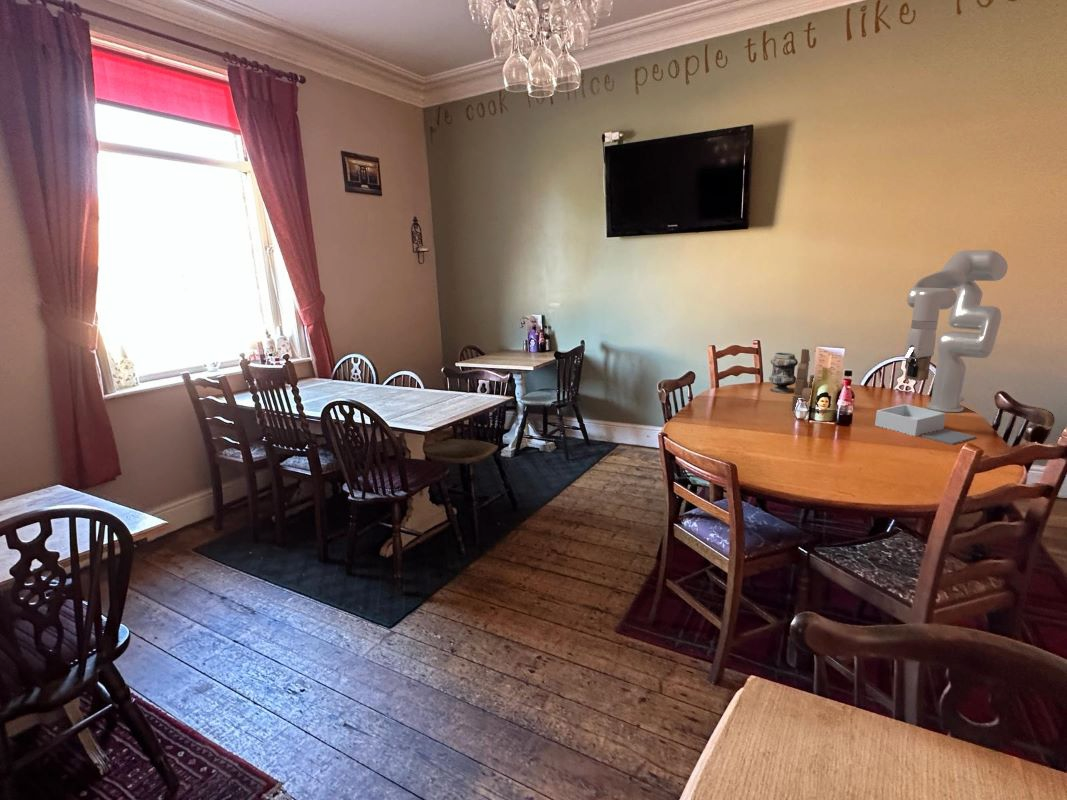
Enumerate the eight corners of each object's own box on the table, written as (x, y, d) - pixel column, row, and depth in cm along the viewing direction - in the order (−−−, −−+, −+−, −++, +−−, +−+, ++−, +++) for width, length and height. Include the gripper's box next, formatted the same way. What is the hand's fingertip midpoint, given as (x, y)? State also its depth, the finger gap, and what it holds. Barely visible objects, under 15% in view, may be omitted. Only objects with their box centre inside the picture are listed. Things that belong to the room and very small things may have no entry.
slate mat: (944, 430, 197) (945, 428, 197) (976, 438, 188) (976, 436, 188) (920, 436, 191) (921, 435, 191) (951, 444, 182) (952, 443, 182)
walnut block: (913, 376, 200) (916, 355, 198) (927, 379, 196) (931, 357, 194) (904, 378, 198) (907, 356, 196) (919, 381, 194) (922, 359, 192)
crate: (902, 418, 211) (905, 404, 210) (943, 428, 198) (946, 413, 197) (874, 425, 205) (876, 410, 203) (914, 436, 192) (917, 420, 190)
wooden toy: (809, 412, 224) (815, 352, 217) (791, 410, 227) (797, 351, 221) (815, 403, 236) (821, 347, 229) (799, 402, 239) (804, 346, 233)
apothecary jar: (799, 389, 260) (802, 352, 255) (790, 395, 251) (793, 356, 247) (773, 386, 268) (776, 350, 263) (763, 391, 259) (766, 354, 255)
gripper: (927, 322, 198) (920, 370, 203) (897, 326, 192) (891, 376, 197) (950, 324, 192) (942, 374, 197) (920, 328, 185) (912, 380, 190)
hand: (916, 375), depth 197 cm, fingers closed on walnut block, 5 cm apart
